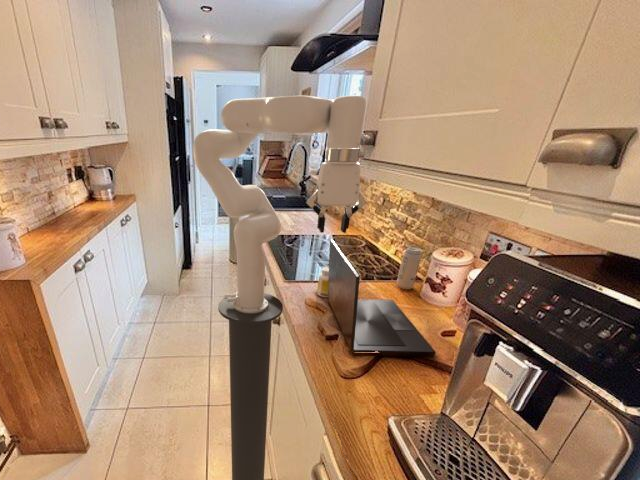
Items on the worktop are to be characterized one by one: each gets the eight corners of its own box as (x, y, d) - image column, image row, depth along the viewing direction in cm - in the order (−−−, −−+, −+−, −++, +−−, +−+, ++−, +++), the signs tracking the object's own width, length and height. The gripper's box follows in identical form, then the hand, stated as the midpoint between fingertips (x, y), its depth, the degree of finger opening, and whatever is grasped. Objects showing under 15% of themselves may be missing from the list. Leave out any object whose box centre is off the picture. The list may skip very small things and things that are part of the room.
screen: (332, 239, 102) (329, 239, 102) (360, 276, 76) (356, 276, 76) (330, 298, 112) (327, 298, 112) (354, 350, 85) (350, 350, 85)
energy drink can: (412, 291, 121) (423, 252, 114) (395, 288, 124) (404, 250, 117) (413, 285, 126) (423, 247, 119) (396, 282, 128) (405, 245, 122)
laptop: (391, 304, 112) (392, 299, 111) (434, 357, 85) (436, 351, 84) (329, 303, 113) (330, 298, 112) (353, 355, 86) (354, 349, 85)
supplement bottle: (335, 295, 118) (338, 270, 114) (324, 298, 116) (327, 273, 111) (324, 290, 122) (328, 265, 118) (313, 293, 120) (316, 268, 115)
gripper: (372, 155, 81) (360, 228, 89) (303, 155, 82) (298, 227, 90) (383, 157, 74) (369, 235, 83) (308, 157, 75) (301, 235, 83)
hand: (332, 230), depth 86 cm, fingers open, 5 cm apart
